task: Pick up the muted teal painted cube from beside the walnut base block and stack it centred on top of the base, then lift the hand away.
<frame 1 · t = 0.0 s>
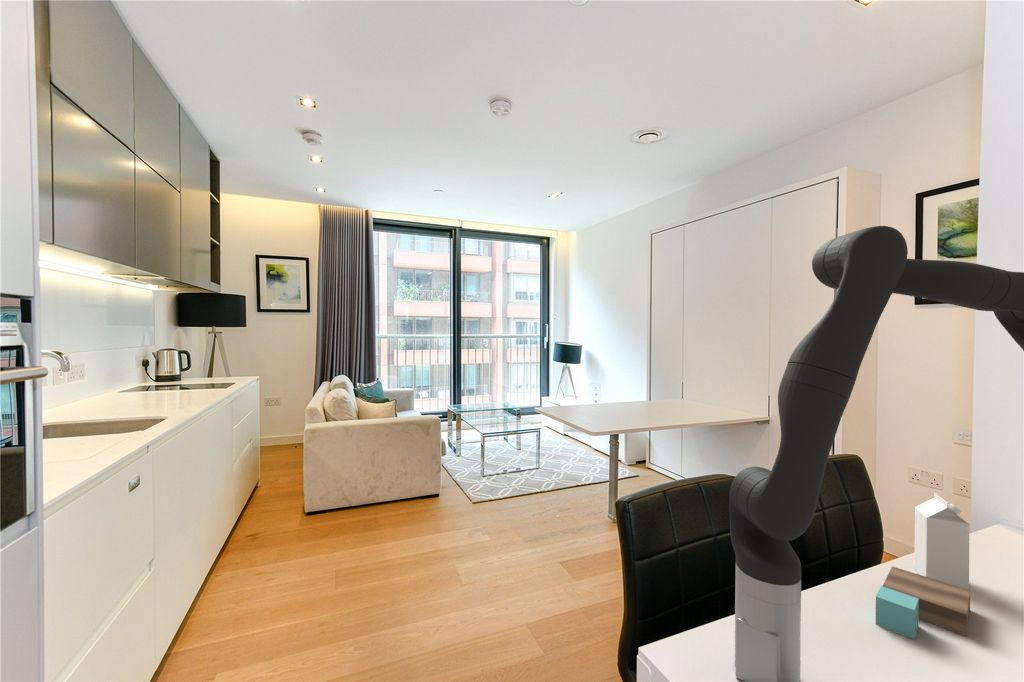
milk carton: (940, 580, 97), on the table
walnut base: (925, 607, 87), on the table
teal cube: (896, 625, 82), on the table
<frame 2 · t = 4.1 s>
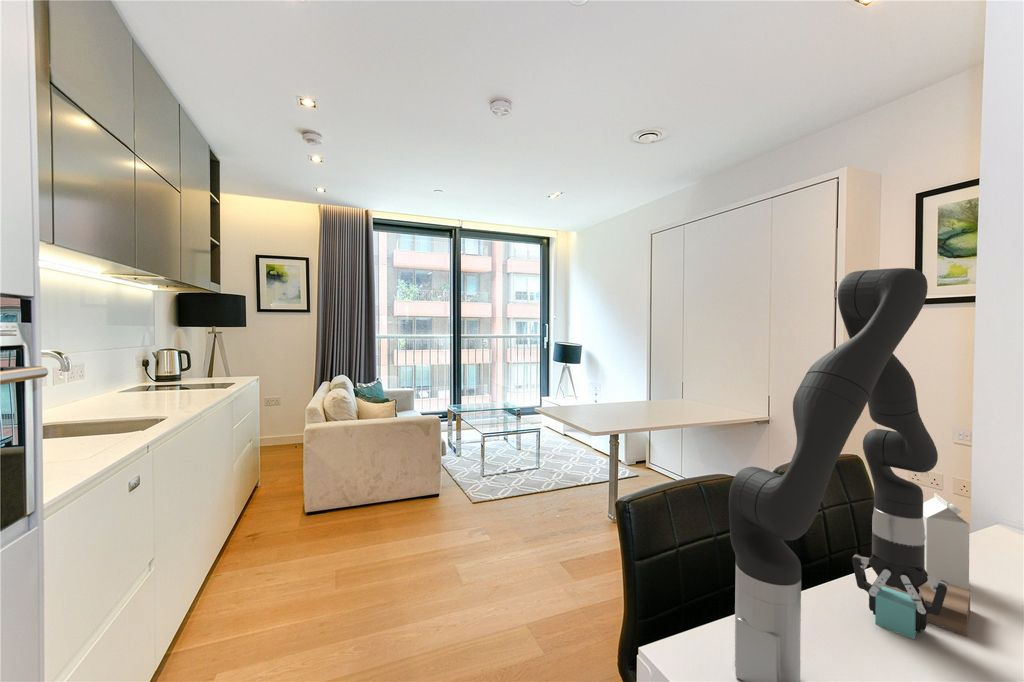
hand: (896, 621, 82), 1 cm above the table, tool pointing down, fingers closed on teal cube, 5 cm apart
teal cube: (896, 625, 82), on the table, touching gripper
everything else where it was.
when the fingers open (6 cm above the table, at t = 8.7 s): teal cube drops 1 cm, resting on walnut base.
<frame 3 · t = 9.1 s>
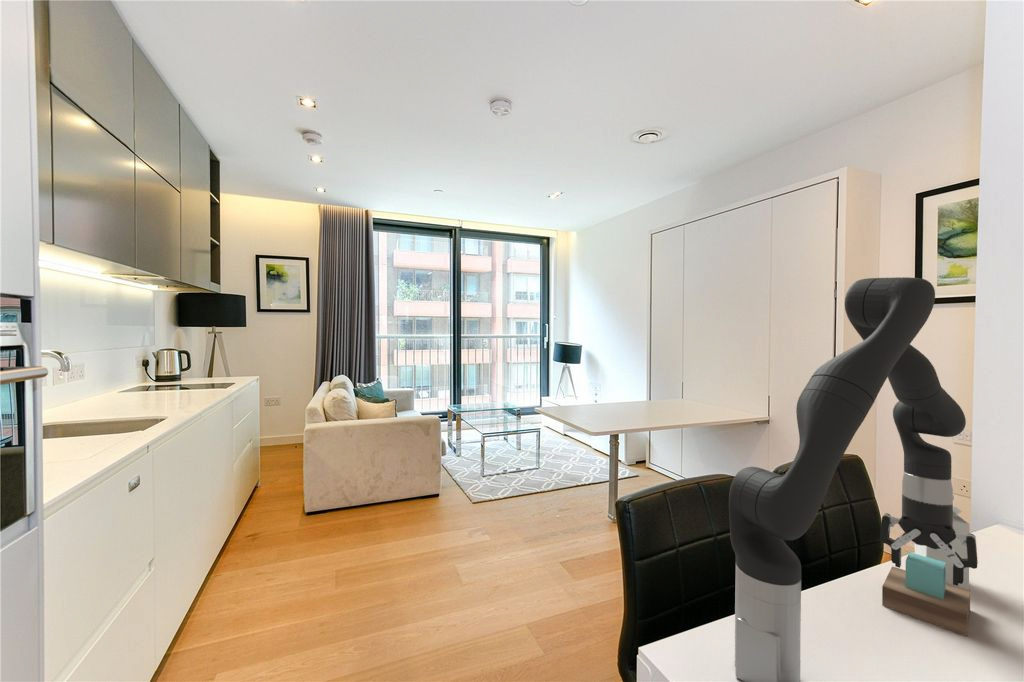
hand: (926, 574, 87), 7 cm above the table, tool pointing down, fingers open, 8 cm apart
teal cube: (925, 588, 87), point 4 cm above the table, touching walnut base
everything else where it was.
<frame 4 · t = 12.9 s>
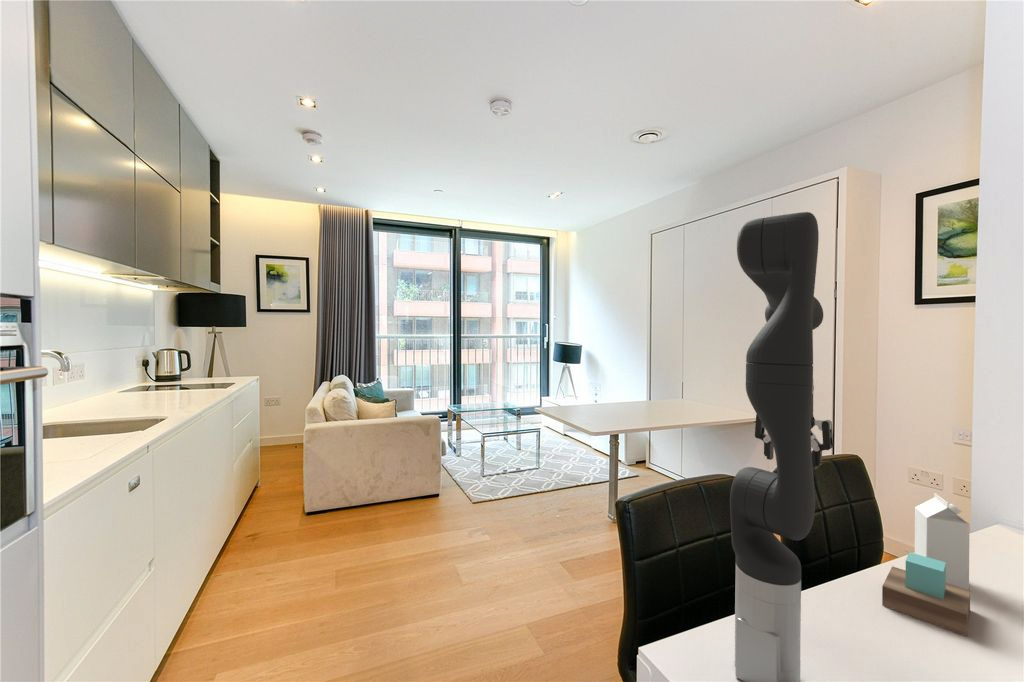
hand: (791, 463, 92), 28 cm above the table, tool pointing down, fingers open, 8 cm apart
nothing on the table moved.
at the end: teal cube 0.1 cm off-centre on the walnut base, point 4.0 cm above the walnut base's base; teal cube tilted 0°; the gripper is holding nothing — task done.
